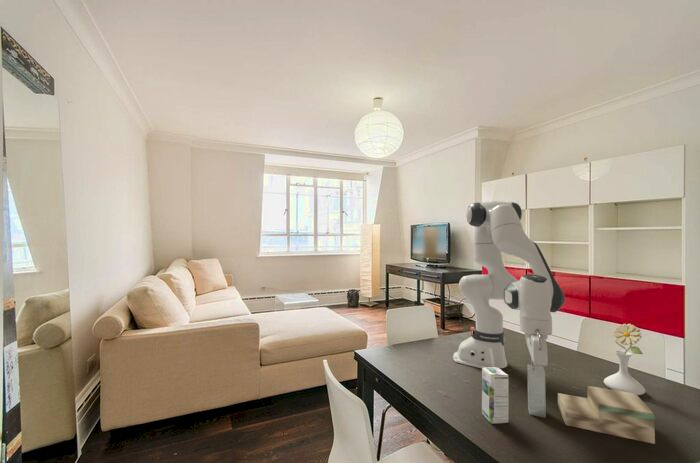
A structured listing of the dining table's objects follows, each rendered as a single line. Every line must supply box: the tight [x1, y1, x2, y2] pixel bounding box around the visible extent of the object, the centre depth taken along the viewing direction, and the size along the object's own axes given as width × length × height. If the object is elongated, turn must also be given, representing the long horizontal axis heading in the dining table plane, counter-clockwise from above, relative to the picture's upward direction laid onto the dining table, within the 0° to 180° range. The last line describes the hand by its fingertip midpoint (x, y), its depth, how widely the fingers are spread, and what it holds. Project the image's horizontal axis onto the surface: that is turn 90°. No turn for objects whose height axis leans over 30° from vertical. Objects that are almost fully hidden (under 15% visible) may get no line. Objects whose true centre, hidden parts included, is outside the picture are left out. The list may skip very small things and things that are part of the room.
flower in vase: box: [603, 323, 646, 396], centre depth 111 cm, size 13×11×25 cm
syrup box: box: [481, 367, 509, 425], centre depth 95 cm, size 6×6×14 cm
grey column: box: [526, 364, 547, 419], centre depth 98 cm, size 4×4×14 cm
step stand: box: [557, 385, 656, 445], centre depth 92 cm, size 20×12×8 cm, turn 65°
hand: (536, 370), depth 98 cm, fingers open, 8 cm apart
